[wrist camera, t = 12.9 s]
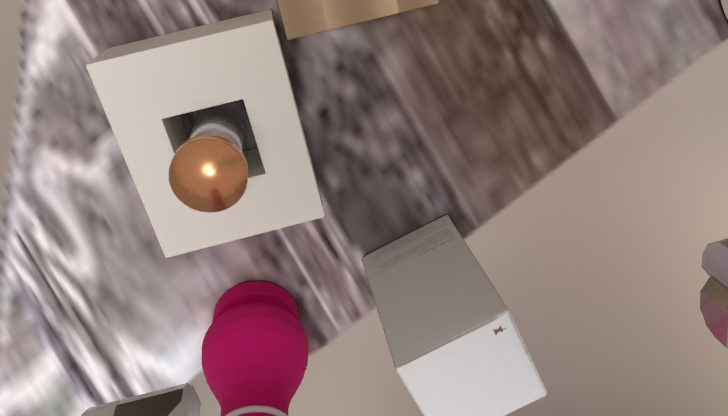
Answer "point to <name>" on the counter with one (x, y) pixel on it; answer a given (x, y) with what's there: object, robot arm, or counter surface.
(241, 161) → the pin
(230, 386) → the pepper mill
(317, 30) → the mount
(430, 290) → the supplement box
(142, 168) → the dock
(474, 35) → the counter surface
